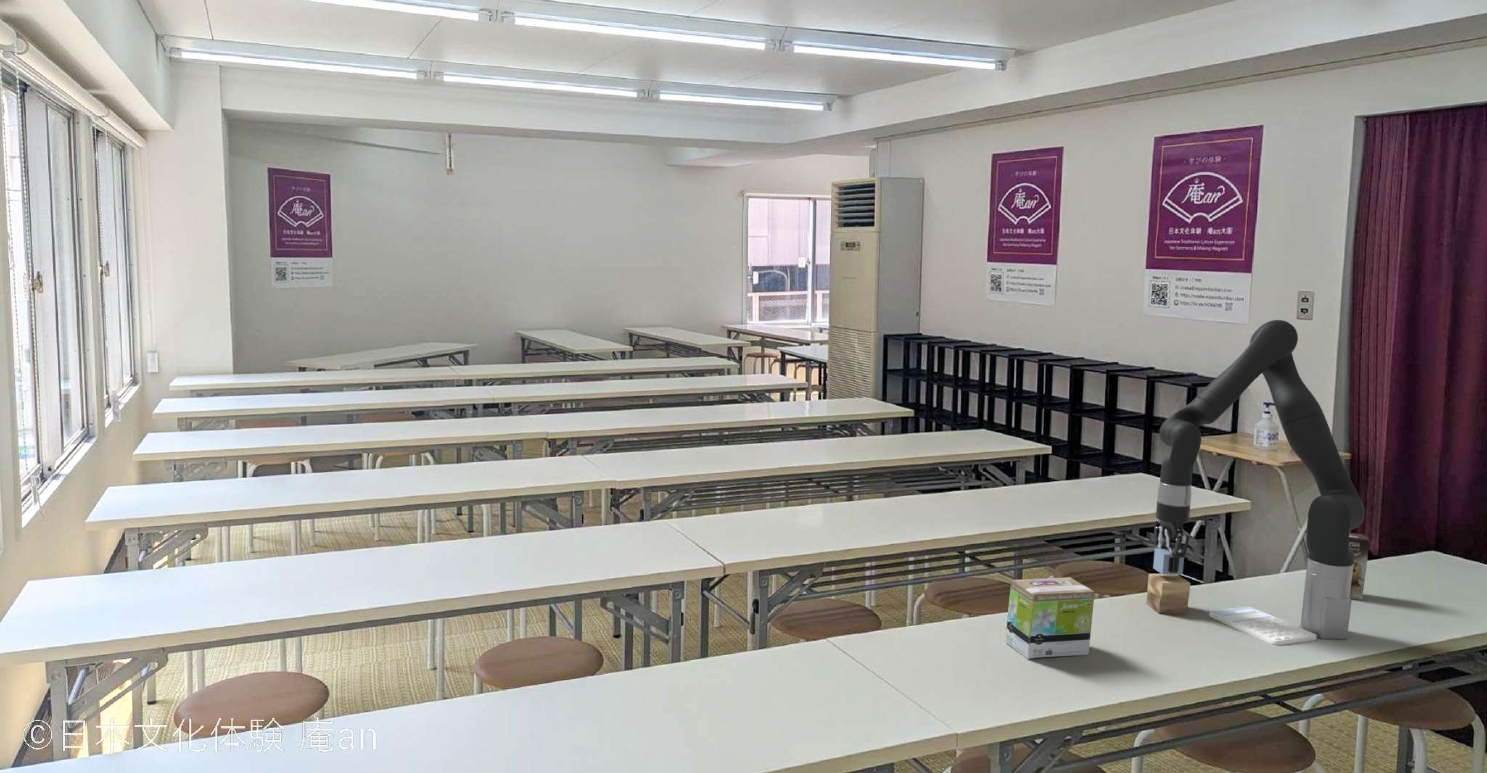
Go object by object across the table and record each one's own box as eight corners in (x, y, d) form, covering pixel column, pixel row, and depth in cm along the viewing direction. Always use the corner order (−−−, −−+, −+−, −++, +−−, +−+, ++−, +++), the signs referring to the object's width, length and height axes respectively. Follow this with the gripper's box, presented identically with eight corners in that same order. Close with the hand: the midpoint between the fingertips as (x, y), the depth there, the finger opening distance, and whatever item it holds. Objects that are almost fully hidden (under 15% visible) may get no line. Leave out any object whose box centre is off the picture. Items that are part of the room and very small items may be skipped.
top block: (1188, 598, 250) (1190, 582, 250) (1161, 598, 249) (1162, 582, 249) (1174, 589, 257) (1175, 573, 256) (1147, 589, 256) (1148, 573, 256)
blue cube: (1182, 574, 251) (1184, 554, 250) (1162, 574, 250) (1164, 554, 250) (1172, 568, 255) (1174, 548, 255) (1153, 567, 255) (1154, 548, 254)
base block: (1186, 615, 250) (1188, 599, 250) (1158, 614, 250) (1160, 598, 249) (1173, 605, 257) (1175, 589, 257) (1146, 604, 257) (1147, 589, 256)
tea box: (1028, 660, 218) (1033, 593, 216) (1004, 643, 228) (1008, 578, 226) (1090, 655, 222) (1095, 589, 220) (1064, 638, 232) (1069, 574, 230)
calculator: (1275, 648, 232) (1275, 640, 231) (1206, 617, 250) (1207, 609, 250) (1318, 641, 236) (1319, 633, 236) (1247, 611, 255) (1248, 604, 255)
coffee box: (1323, 595, 267) (1330, 535, 265) (1317, 588, 274) (1324, 529, 271) (1363, 600, 265) (1370, 539, 263) (1356, 592, 271) (1363, 533, 269)
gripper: (1203, 508, 244) (1196, 578, 246) (1175, 494, 258) (1169, 560, 260) (1172, 508, 243) (1166, 578, 245) (1145, 493, 257) (1140, 559, 260)
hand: (1167, 568), depth 253 cm, fingers closed on blue cube, 4 cm apart
